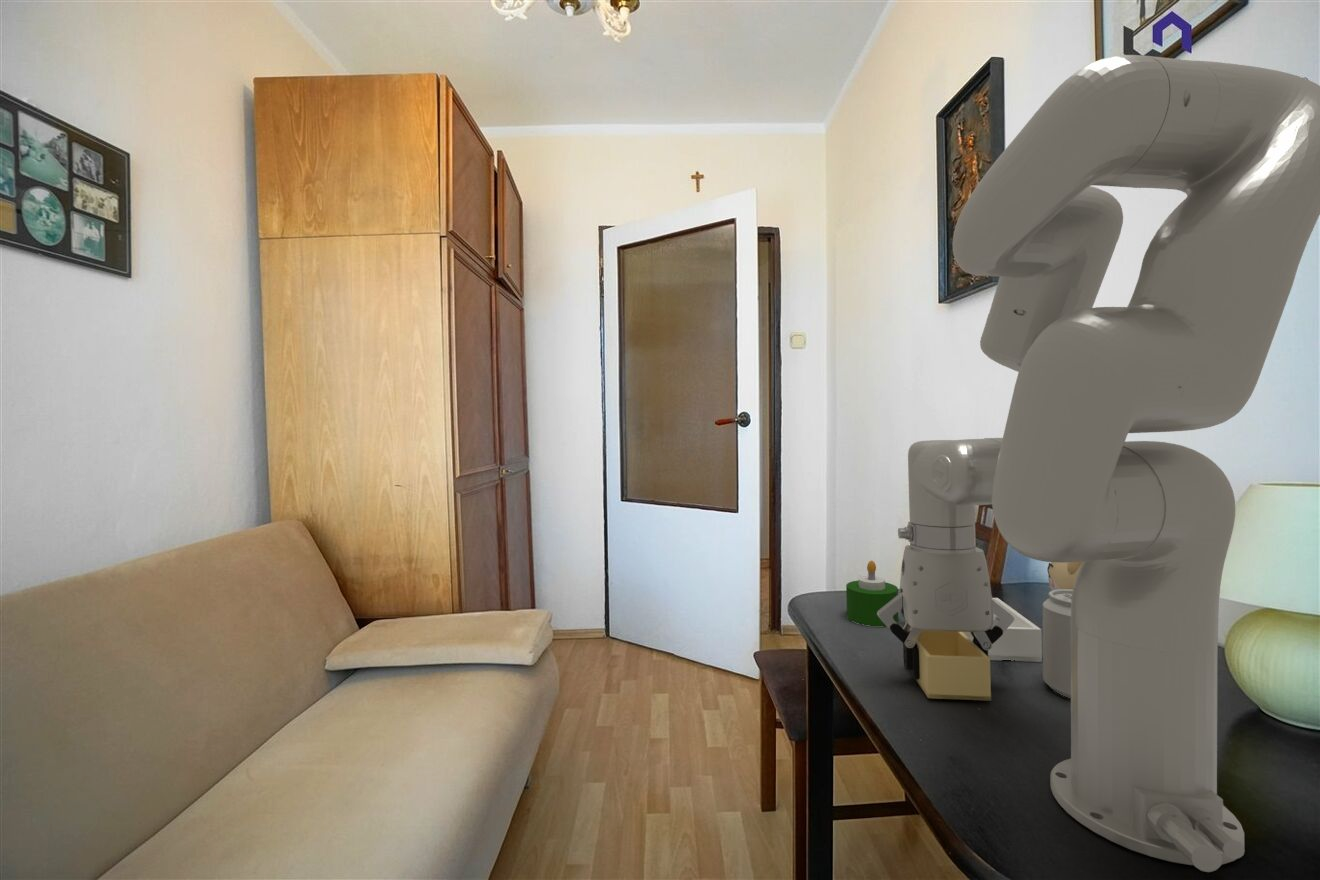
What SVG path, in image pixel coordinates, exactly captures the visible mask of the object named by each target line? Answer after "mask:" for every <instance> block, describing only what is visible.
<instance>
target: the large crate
mask: <svg viewBox="0 0 1320 880" xmlns="http://www.w3.org/2000/svg"><path fill="white" fill-rule="evenodd" d="M992 600H993V601H994V602H995V603H997V604H998V605H999V606H1001V607H1002V608H1003V609H1004V610H1006V611H1007V612H1008V613H1010V614H1011V615H1012V616H1013V617H1014V621H1013V623H1012V624H1011V625H1010V626H1009V627H1008V628H1007V629H1006V630H1004V632H1003V635H1002V636H1001V637H1000V638H999V639H998V640H997V641H995V642H994V643H993V644H992V648H991V649H990V650H988V657H989V658H990V661H1002V660H1011V661H1010V662H1035V663H1041V662H1042V663H1043V635H1042V628H1040V627H1039V626H1037V625H1036V624H1035V623H1033V622H1032V621H1030V620H1029V619H1027V618H1026V617H1025V616H1023V615H1022V614H1020V613H1019V612H1018V611H1017V610H1015V609H1013V608H1012V607H1011V606H1009V604H1007V603H1006V602H1004V601H1002V600H1001V599H1000V598H998V597H992ZM995 618H996V616H995V614H994V613H993V622H994V620H995ZM903 619H904V620H903V621H904V622H905V623H906V620H905V618H904V617H903ZM905 623H904V624H905ZM963 633H964V634H965V635H966V636H967V637H968V638H969V639H970V640H971V641H972V642H973V637H972V635H971V633H970V632H963ZM1014 660H1015V661H1014Z"/></svg>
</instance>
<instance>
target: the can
mask: <svg viewBox="0 0 1320 880" xmlns="http://www.w3.org/2000/svg"><path fill="white" fill-rule="evenodd" d="M1072 592H1073V590H1071V589H1059V590H1053V591H1051V590H1050V591H1049V592H1048V596H1049V598H1047V599H1046V600H1045V601H1044V602H1043V603H1042V679H1043V681H1044V683H1045V684H1046V685H1048V686H1049V687H1050V688H1051V689H1053V690H1054V691H1053V690H1052V691H1053V692H1055V691H1056V692H1057V693H1059V694H1061V695H1060V696H1062V695H1063V696H1062V697H1064V696H1066V697H1069V698H1071V599H1072ZM1056 692H1055V693H1056ZM1057 693H1056V694H1057ZM1059 694H1058V695H1059ZM1066 697H1065V698H1066ZM1069 698H1068V699H1069Z"/></svg>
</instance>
